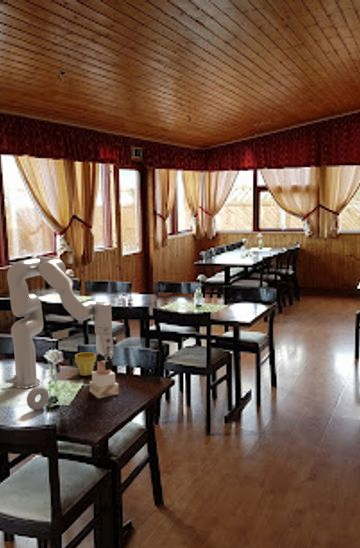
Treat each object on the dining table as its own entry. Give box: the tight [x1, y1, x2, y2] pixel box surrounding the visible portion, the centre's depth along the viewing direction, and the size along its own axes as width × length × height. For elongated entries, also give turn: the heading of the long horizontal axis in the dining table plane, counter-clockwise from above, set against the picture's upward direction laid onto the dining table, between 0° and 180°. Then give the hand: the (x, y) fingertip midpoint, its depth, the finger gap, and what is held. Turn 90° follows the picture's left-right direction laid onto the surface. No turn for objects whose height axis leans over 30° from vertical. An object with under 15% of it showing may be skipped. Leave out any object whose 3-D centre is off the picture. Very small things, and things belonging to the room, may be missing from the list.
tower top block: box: [91, 370, 116, 387], centre depth 249 cm, size 8×8×5 cm
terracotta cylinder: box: [96, 360, 112, 374], centre depth 249 cm, size 6×6×4 cm
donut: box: [26, 385, 50, 411], centre depth 230 cm, size 10×4×10 cm, turn 135°
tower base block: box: [89, 380, 120, 399], centre depth 250 cm, size 10×10×5 cm
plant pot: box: [74, 351, 97, 377], centre depth 276 cm, size 10×10×10 cm
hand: (104, 366), depth 249 cm, fingers open, 9 cm apart
